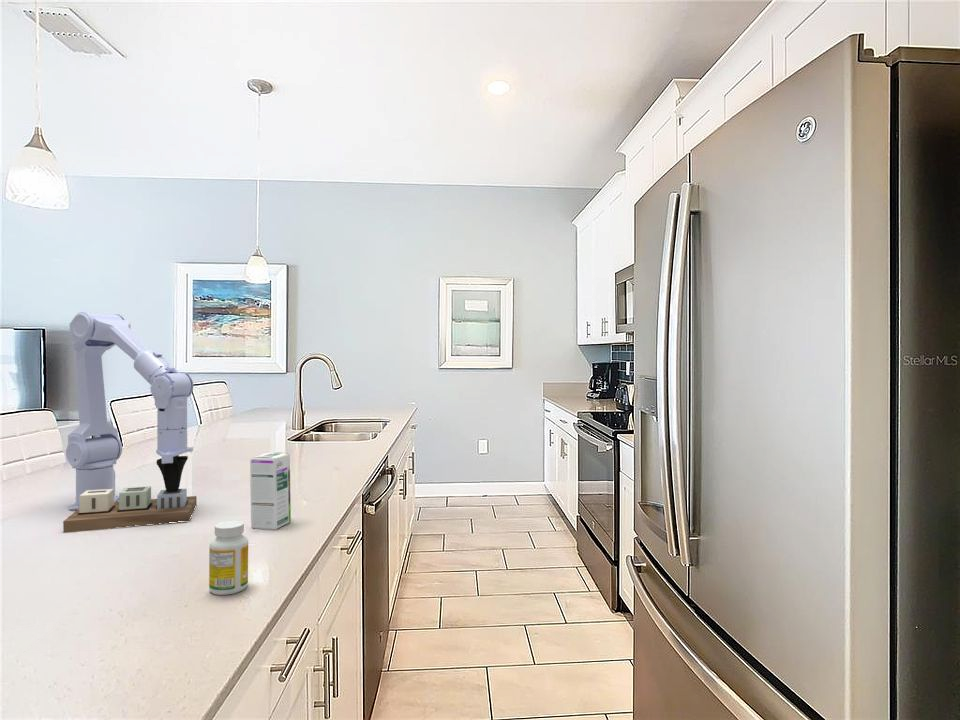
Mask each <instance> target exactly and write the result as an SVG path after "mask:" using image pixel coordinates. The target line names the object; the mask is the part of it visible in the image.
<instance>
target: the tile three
mask: <svg viewBox="0 0 960 720" xmlns="http://www.w3.org/2000/svg"><path fill="white" fill-rule="evenodd" d="M187 489H188V488H179V489H178V491H177V492H167V491H166V489H161V490H160V491H159V492H158V494H157V498H156V499H157V509H165V508H179V507H185V506H186V505H187V497H188V496H187V495H188V494H187V493H188V492H187Z"/></svg>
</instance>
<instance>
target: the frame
mask: <svg viewBox="0 0 960 720" xmlns="http://www.w3.org/2000/svg"><path fill="white" fill-rule="evenodd" d="M195 506H196V507H197V495H191V496H187V505H186V506H185V507H179V508H165V509H157V498H151V503H150V504H149V506H148V507H147V508H140V509H127V510H119V500H117V501H116V502H114V505H113V506H112V507H111V508H110V509H109V510H108V511H100V512H87V513H79V509H75V510H74V512H73V513H71V514H70V515H69V516H68V517H66V519H64V520H63V521H62V522H63V524H62V525H63V526H62V527H63V531H62V532H63V533H71V532H72V533H74V532H84V531H85V532H86V531H97V530H107V529H108V528H111V529H117V528H116V527H122V528H127V527H126V526H134V527H136V526H135V525H146V526H148V525H147V524H158V525H160V524H159V523H169V522H178V521H189V522H190V520H191V518H192V516H193V514H194V512H195V510H194V508H195ZM195 509H196V508H195ZM193 511H194V512H193ZM192 513H193V514H192ZM191 515H192V516H191ZM190 517H191V518H190ZM189 519H190V520H189Z"/></svg>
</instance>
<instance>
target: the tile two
mask: <svg viewBox="0 0 960 720" xmlns="http://www.w3.org/2000/svg"><path fill="white" fill-rule="evenodd" d="M118 496H119V499H118V501H119V510H127V509H140V508H147V507H148V506H149V504H150V503H151V499H152V486H150V485H149V486H136V487H134V486H132V487H124V488H123V489H122V490H121V491H120V492H118Z"/></svg>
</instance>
